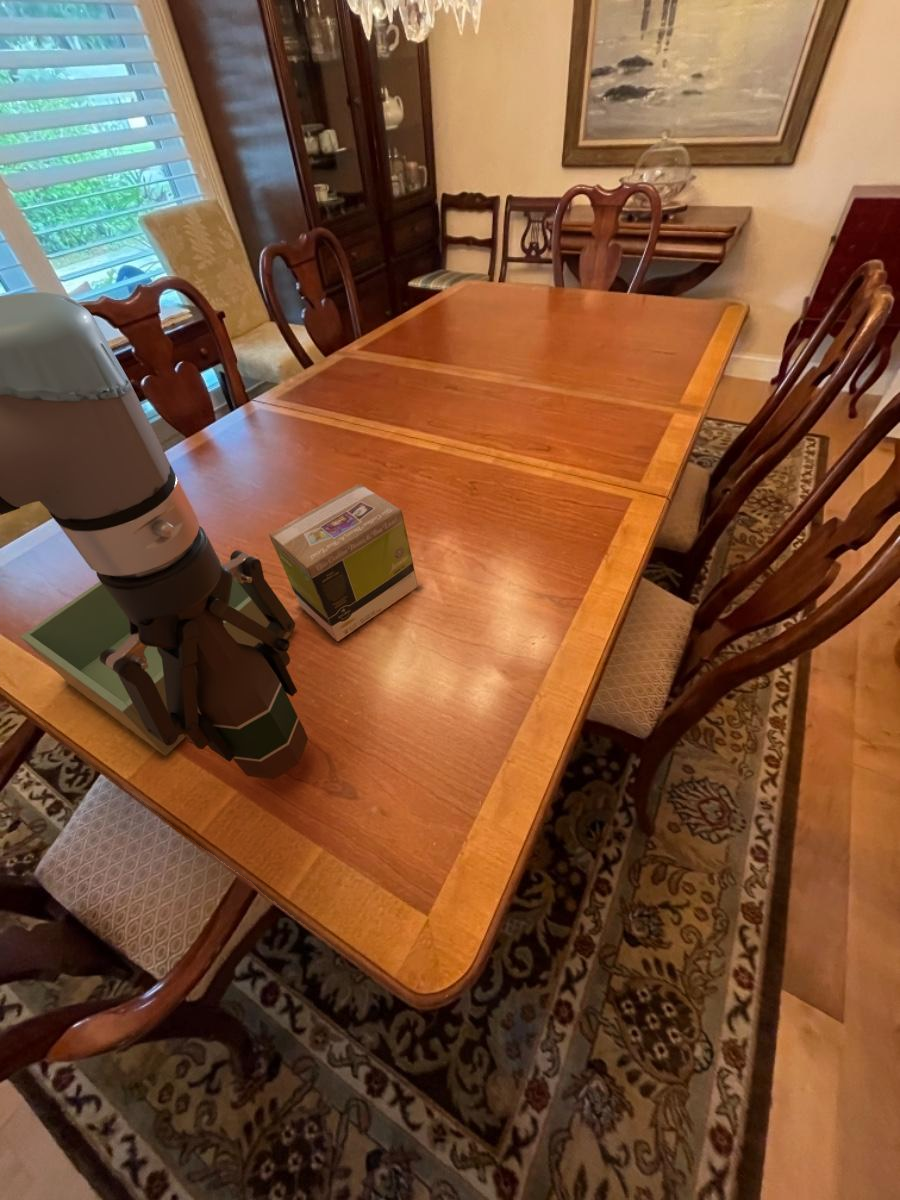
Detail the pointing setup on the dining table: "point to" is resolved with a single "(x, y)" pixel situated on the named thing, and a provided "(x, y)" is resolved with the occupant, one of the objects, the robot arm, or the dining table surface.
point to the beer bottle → (244, 700)
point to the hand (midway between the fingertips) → (255, 718)
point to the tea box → (347, 559)
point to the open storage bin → (102, 625)
